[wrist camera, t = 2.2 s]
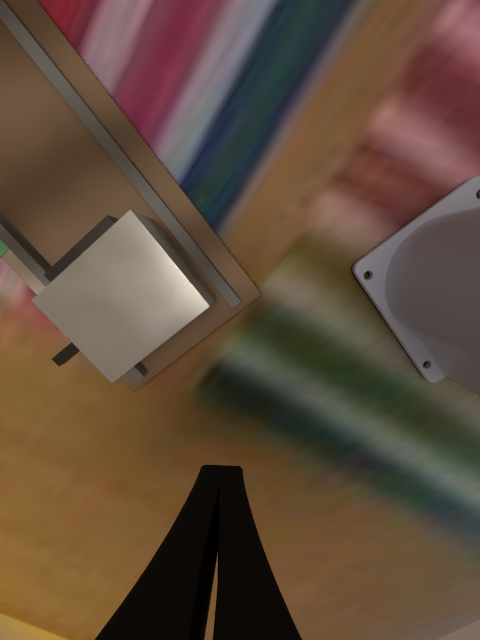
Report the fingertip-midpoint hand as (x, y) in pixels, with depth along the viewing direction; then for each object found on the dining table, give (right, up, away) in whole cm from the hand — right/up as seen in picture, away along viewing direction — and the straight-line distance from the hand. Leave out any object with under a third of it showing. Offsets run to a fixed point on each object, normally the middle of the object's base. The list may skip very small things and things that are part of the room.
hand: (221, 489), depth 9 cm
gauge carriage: (-6, +7, +5) cm, 10 cm away
